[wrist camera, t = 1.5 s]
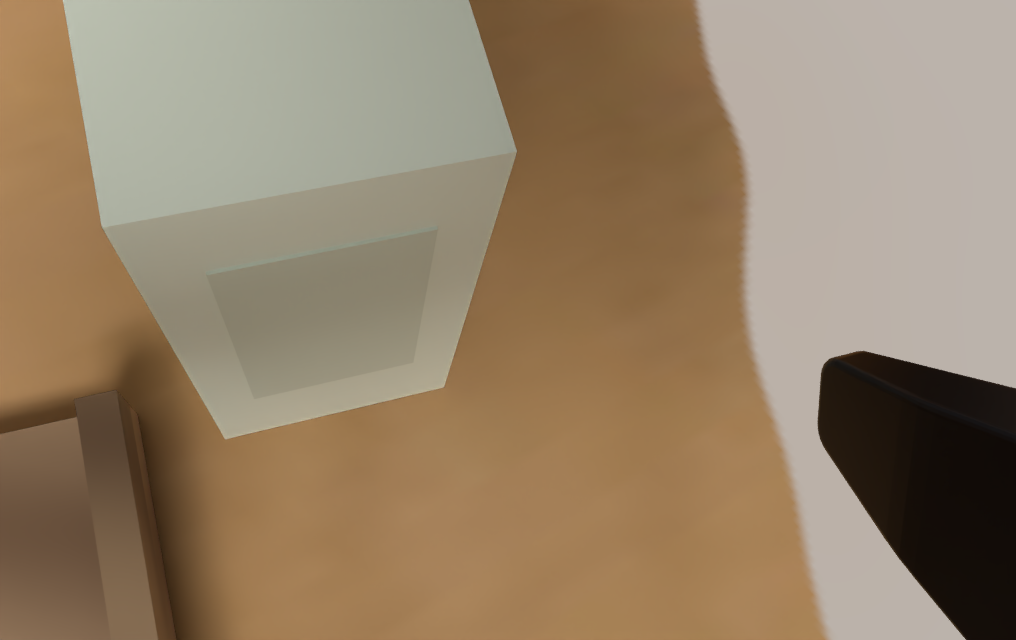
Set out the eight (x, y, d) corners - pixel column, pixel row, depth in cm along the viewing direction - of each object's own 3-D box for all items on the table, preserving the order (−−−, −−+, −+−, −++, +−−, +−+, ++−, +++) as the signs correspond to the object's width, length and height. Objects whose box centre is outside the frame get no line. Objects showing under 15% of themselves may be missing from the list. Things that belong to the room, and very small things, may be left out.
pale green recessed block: (444, 389, 22) (518, 155, 12) (225, 441, 21) (103, 231, 11) (401, 232, 24) (435, -103, 13) (192, 273, 22) (52, -58, 12)
